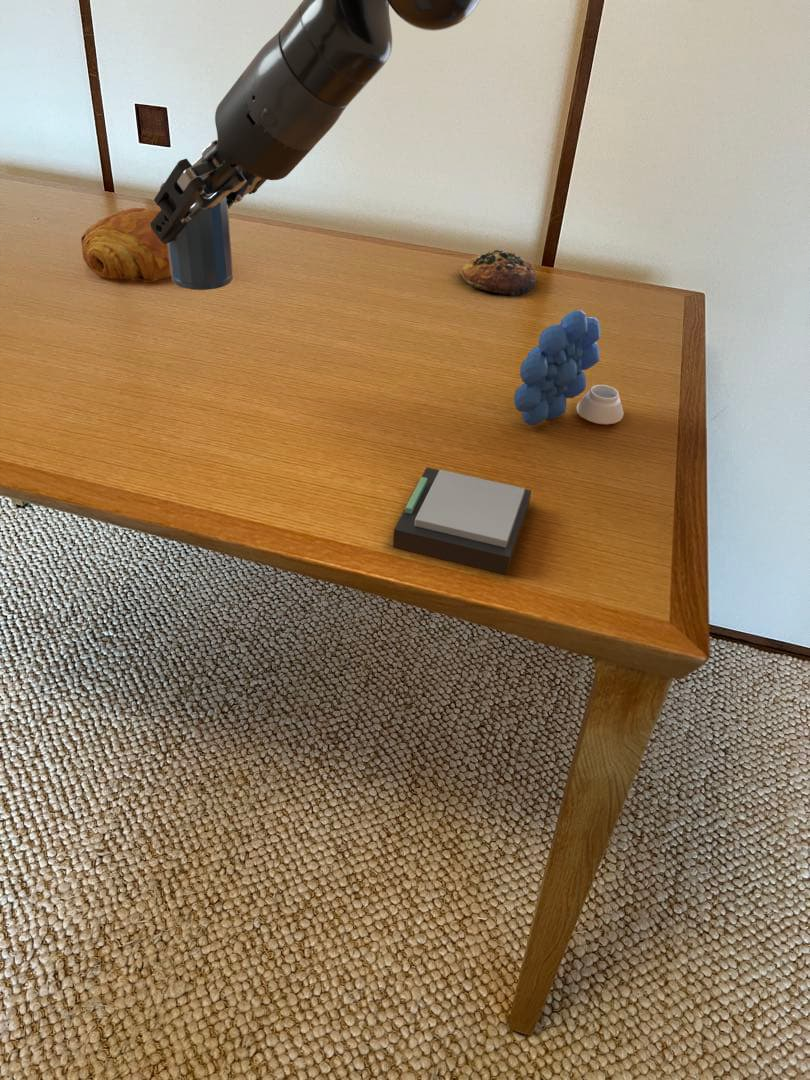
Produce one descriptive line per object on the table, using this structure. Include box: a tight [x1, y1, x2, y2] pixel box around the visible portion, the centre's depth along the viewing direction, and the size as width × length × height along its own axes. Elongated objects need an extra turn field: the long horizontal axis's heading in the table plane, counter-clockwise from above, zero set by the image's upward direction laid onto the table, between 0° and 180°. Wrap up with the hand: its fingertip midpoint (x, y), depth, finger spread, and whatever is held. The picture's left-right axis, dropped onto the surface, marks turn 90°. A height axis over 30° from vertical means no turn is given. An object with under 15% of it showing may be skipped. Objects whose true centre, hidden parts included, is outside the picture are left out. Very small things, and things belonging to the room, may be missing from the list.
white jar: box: [576, 384, 625, 425], centre depth 88 cm, size 5×3×5 cm
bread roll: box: [459, 249, 537, 297], centre depth 116 cm, size 11×11×5 cm
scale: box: [392, 467, 532, 576], centre depth 72 cm, size 10×10×3 cm
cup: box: [159, 182, 234, 291], centre depth 76 cm, size 6×6×8 cm
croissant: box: [80, 207, 171, 283], centre depth 112 cm, size 14×16×8 cm
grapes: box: [513, 309, 601, 426], centre depth 85 cm, size 12×7×12 cm, turn 130°
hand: (182, 224), depth 77 cm, fingers closed on cup, 6 cm apart
